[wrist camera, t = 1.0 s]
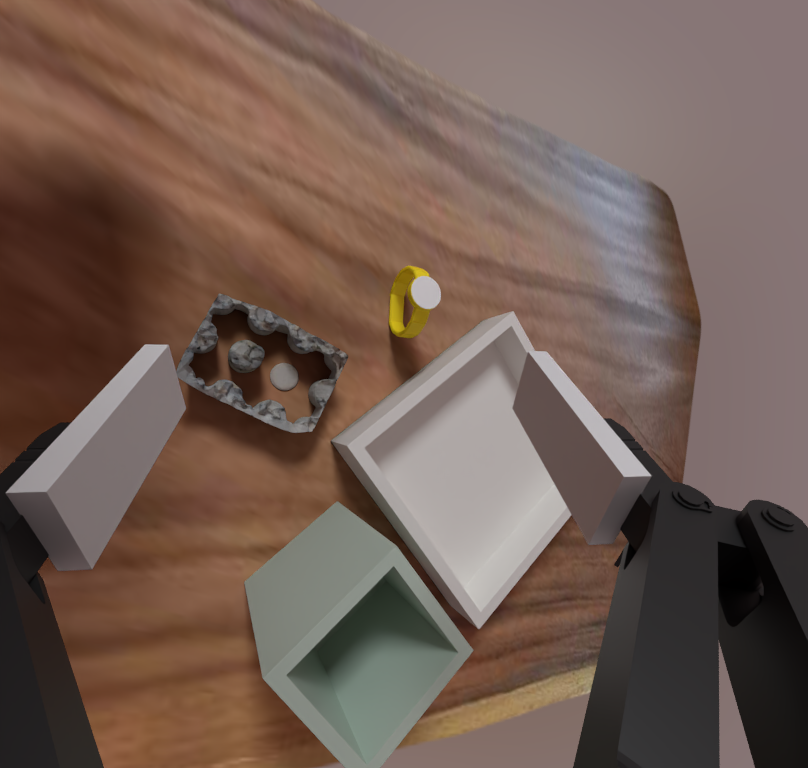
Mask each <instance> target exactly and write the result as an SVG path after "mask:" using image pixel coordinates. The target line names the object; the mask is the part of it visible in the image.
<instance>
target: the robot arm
mask: <svg viewBox="0 0 808 768" xmlns="http://www.w3.org/2000/svg"><path fill="white" fill-rule="evenodd" d="M512 409H513V410H514V412H515V414H516V416H517V418H518V419H519V421H520V423H521V425H522V427H523V428H524V430H525V432H526V434H527V436H528V437H529V439H530V441H531V443H532V444H533V446H534V448H535V450H536V452H537V453H538V455H539V457H540V459H541V461H542V462H543V464H544V466H545V468H546V470H547V471H548V473H549V475H550V477H551V479H552V480H553V482H554V484H555V486H556V488H557V489H558V491H559V493H560V495H561V497H562V498H563V500H564V502H565V504H566V506H567V507H568V509H569V511H570V513H571V514H572V516H573V518H574V520H575V522H576V523H577V525H578V527H579V529H580V531H581V532H582V534H583V536H584V538H585V540H586V541H587V543H588V545H594V544H613V542H614V541H615V539H616V537H617V535H618V534H619V532H620V530H621V531H622V532H623V534H624V535H625V537H626V538H627V540H628V543H627V544H626V546H625V548H624V549H623V551H622V553H621V554H620V556H619V558H618V559H617V561H616V562H615V564H614V565H615V566H617V567H618V566H619V565H620V567H619V572H618V576H617V580H616V585H615V589H614V593H613V597H612V602H611V606H610V610H609V615H608V619H607V623H606V628H605V632H604V636H603V641H602V645H601V649H600V654H599V658H598V662H597V667H596V671H595V675H594V680H593V684H592V688H591V693H590V698H589V701H588V706H587V710H586V714H585V719H584V723H583V727H582V732H581V736H580V741H579V745H578V749H577V753H576V758H575V762H574V766H573V768H719V660H718V659H719V657H718V656H719V655H718V654H719V652H718V650H719V646H718V639H719V643H720V646H721V649H722V653H723V657H724V660H725V663H726V667H727V671H728V674H729V678H730V681H731V685H732V688H733V692H734V695H735V698H736V702H737V706H738V709H739V713H740V716H741V720H742V723H743V726H744V730H745V734H746V737H747V741H748V744H749V748H750V751H751V755H752V758H753V761H754V765H755V768H808V528H807V526H806V525H805V524H804V523H803V521H802V520H800V519H799V518H798V517H797V516H795V515H794V514H793V513H792V512H790V511H789V510H787V509H784V508H783V507H781V506H779V505H776V504H774V503H771V502H768V501H763V500H752V501H750V502H749V503H748V504H747V505H746V506H745V508H744V509H743V510H742V511H737V510H732V509H728V508H723V507H719V506H715V505H714V504H713V503H712V502H711V500H710V499H709V498H708V497H707V496H705V495H704V494H703V493H701V492H700V491H698V490H696V489H695V488H692V487H691V486H688V485H685V484H682V483H678V482H673V481H672V480H671V479H670V478H669V477H668V476H667V475H666V474H665V472H664V471H663V470H662V469H661V468H660V467H659V466H658V465H657V463H656V462H655V461H654V460H653V459H652V458H651V457H650V456H649V454H648V453H647V452H646V451H643V448H642V447H641V445H640V444H639V443H638V442H635V439H634V438H633V437H632V435H631V434H630V433H629V432H628V431H627V430H626V429H625V428H624V427H623V426H621V425H620V424H618V423H617V422H615V421H614V420H612V419H603V418H602V417H601V415H600V414H599V413H598V412H597V411H596V410H595V408H594V407H593V406H592V405H591V404H590V402H589V401H588V400H587V399H586V398H585V397H584V395H583V394H582V393H581V392H580V391H579V389H578V388H577V387H576V386H575V385H574V383H573V382H572V381H571V380H570V379H569V378H568V376H567V375H566V374H565V373H564V372H563V370H562V369H561V368H560V367H559V366H558V365H557V363H556V362H555V361H554V360H553V359H552V357H551V356H550V355H549V354H548V353H547V352H542V351H528V353H527V357H526V360H525V364H524V368H523V371H522V375H521V378H520V382H519V386H518V389H517V393H516V396H515V400H514V404H513V407H512ZM185 410H186V406H185V403H184V399H183V395H182V392H181V388H180V384H179V380H178V377H177V373H176V369H175V366H174V362H173V358H172V355H171V351H170V347H169V345H153V344H145V345H144V346H143V347H142V348H141V349H140V350H139V351H138V352H137V353H136V355H135V356H134V357H133V358H132V359H131V360H130V361H129V362H128V363H127V364H126V365H125V366H124V367H123V368H122V369H121V370H120V372H119V373H118V374H117V375H116V376H115V377H114V378H113V379H112V380H111V381H110V382H109V383H108V384H107V385H106V386H105V388H104V389H103V390H102V391H101V392H100V393H99V394H98V395H97V396H96V397H95V398H94V399H93V400H92V401H91V402H90V403H89V405H88V406H87V407H86V408H85V409H84V410H83V411H82V412H81V413H80V414H79V415H78V416H77V417H76V418H75V419H74V420H73V422H72V423H59V424H57V425H56V426H54V427H52V428H51V429H49V430H47V431H46V432H44V433H42V434H41V435H39V436H38V437H37V438H36V439H35V440H34V441H33V442H32V443H31V444H30V445H29V446H28V447H27V451H23V452H22V453H21V454H20V455H19V456H18V457H17V458H16V459H15V463H11V464H10V465H9V466H8V467H7V468H6V469H5V470H4V471H3V472H2V473H1V474H0V768H104V767H103V764H102V761H101V757H100V754H99V751H98V748H97V745H96V742H95V739H94V736H93V733H92V730H91V727H90V723H89V720H88V717H87V714H86V711H85V708H84V705H83V702H82V699H81V696H80V692H79V689H78V686H77V683H76V680H75V677H74V674H73V671H72V668H71V665H70V662H69V658H68V655H67V652H66V649H65V646H64V643H63V640H62V637H61V634H60V631H59V628H58V624H57V621H56V618H55V615H54V612H53V609H52V606H51V603H50V600H49V597H48V593H47V590H46V587H45V584H44V581H43V579H42V577H41V576H40V575H39V573H38V572H37V571H38V570H39V569H40V567H41V566H42V564H43V563H44V562H45V560H46V559H47V557H49V559H50V560H51V562H52V563H53V565H54V566H55V568H56V569H57V571H69V570H90V569H93V567H94V565H95V564H96V562H97V560H98V558H99V557H100V555H101V553H102V552H103V550H104V548H105V547H106V545H107V543H108V541H109V540H110V538H111V536H112V535H113V533H114V531H115V529H116V528H117V526H118V524H119V523H120V521H121V519H122V517H123V516H124V514H125V512H126V511H127V509H128V507H129V505H130V504H131V502H132V500H133V499H134V497H135V495H136V494H137V492H138V490H139V488H140V487H141V485H142V483H143V482H144V480H145V478H146V476H147V475H148V473H149V471H150V470H151V468H152V466H153V464H154V463H155V461H156V459H157V458H158V456H159V454H160V452H161V451H162V449H163V447H164V446H165V444H166V442H167V441H168V439H169V437H170V435H171V434H172V432H173V430H174V429H175V427H176V425H177V423H178V422H179V420H180V418H181V417H182V415H183V413H184V411H185Z"/></svg>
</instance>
